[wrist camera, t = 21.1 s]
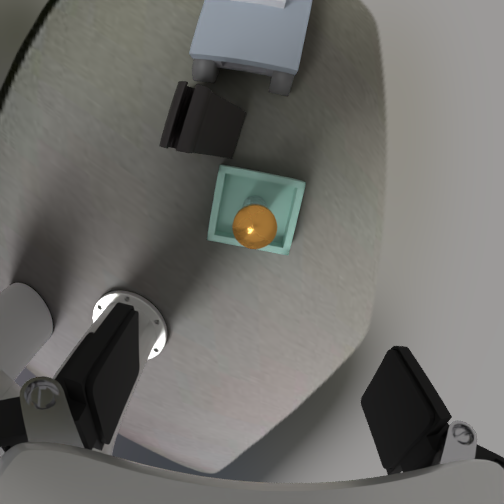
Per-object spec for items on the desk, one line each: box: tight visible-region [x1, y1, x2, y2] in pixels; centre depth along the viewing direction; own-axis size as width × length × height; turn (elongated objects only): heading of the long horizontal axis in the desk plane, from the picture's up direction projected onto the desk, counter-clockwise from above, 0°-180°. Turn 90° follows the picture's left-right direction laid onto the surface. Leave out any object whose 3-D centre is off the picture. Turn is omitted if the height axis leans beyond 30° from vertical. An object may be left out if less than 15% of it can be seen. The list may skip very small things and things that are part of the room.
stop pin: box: [232, 196, 277, 249], centre depth 31 cm, size 4×4×10 cm
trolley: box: [189, 0, 312, 96], centre depth 25 cm, size 11×15×9 cm
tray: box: [207, 164, 306, 255], centre depth 35 cm, size 9×10×3 cm
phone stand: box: [159, 81, 246, 159], centre depth 28 cm, size 9×6×12 cm, turn 73°
